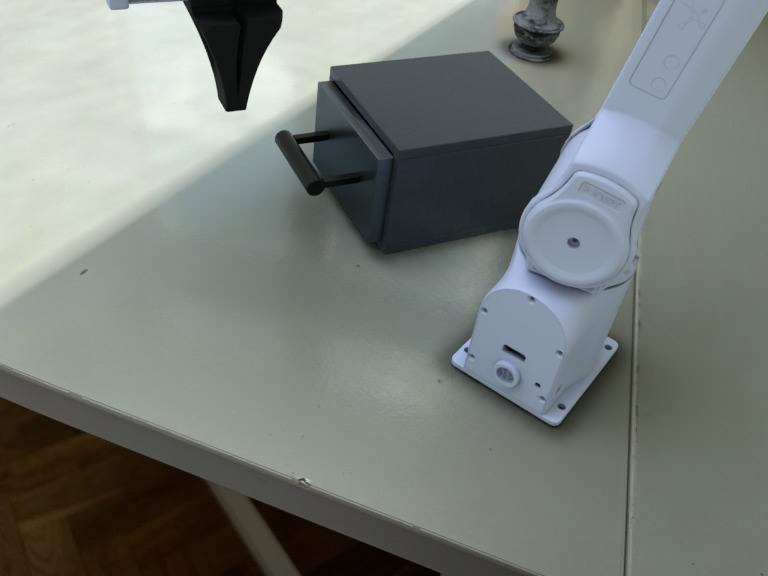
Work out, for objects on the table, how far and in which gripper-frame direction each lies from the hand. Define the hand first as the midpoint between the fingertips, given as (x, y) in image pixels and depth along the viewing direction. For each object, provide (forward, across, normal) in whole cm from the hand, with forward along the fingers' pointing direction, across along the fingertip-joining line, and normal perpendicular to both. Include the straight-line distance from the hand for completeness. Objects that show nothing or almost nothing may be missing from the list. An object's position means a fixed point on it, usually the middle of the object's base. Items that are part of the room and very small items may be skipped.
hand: (232, 103), depth 52 cm
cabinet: (+10, -17, 0) cm, 20 cm away
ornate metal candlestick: (+11, -42, -22) cm, 48 cm away
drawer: (+10, -13, 0) cm, 16 cm away
